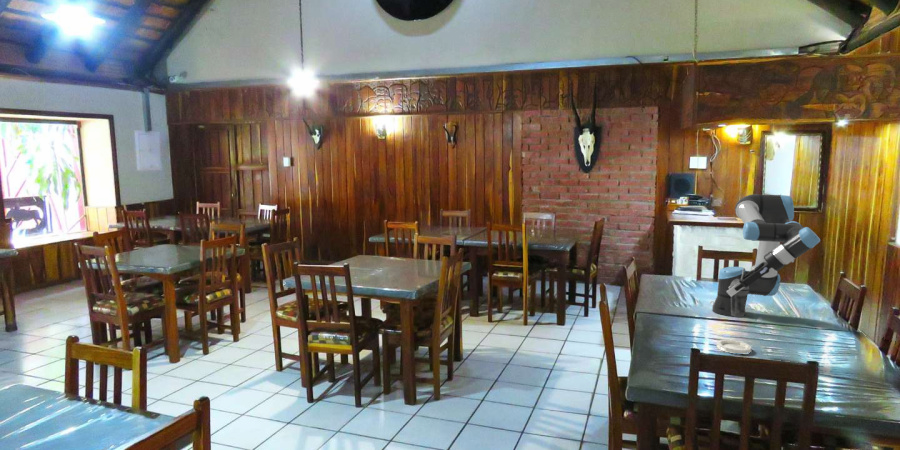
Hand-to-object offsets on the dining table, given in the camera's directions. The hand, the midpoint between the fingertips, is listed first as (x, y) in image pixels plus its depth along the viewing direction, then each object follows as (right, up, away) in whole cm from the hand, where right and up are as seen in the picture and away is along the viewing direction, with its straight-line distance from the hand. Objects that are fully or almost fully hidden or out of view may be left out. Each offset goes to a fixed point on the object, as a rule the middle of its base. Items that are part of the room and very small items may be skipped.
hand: (729, 291), depth 230 cm
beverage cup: (+3, -10, 0) cm, 10 cm away
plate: (+3, -24, +2) cm, 25 cm away
